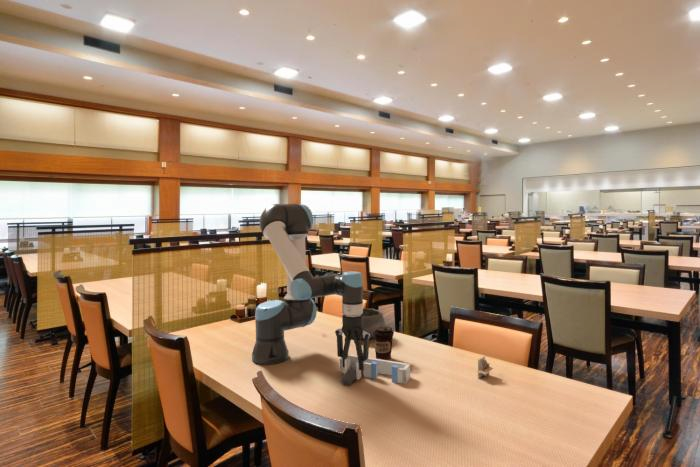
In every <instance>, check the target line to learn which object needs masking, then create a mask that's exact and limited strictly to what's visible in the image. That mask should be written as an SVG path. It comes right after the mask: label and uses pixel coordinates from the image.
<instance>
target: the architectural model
mask: <svg viewBox="0 0 700 467" xmlns="http://www.w3.org/2000/svg"><path fill="white" fill-rule="evenodd" d="M493 369H494V367H491V366H490V363H488V361H487V359H486V356H485V355H483V356H482V357H481V358H479V359H477V371H476V372H477V379H480V378H482V377H486V378H487V377H488V376H490V372H491V371H493Z"/></svg>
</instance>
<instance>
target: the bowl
mask: <svg viewBox="0 0 700 467" xmlns="http://www.w3.org/2000/svg"><path fill="white" fill-rule="evenodd" d="M362 315H363V329H364V331H365V332H367V333H371V335H370V338H369V340H370V339H374V331H375V330H376V327H382V326H386V324H385V322H386V321H385V318H384V315H383V313H382V311H381V310H378V309H374V308H368V307H367V308H365V307H363V313H362ZM362 339H363V340H364V338H363V334H362V335H361V340H362Z"/></svg>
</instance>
